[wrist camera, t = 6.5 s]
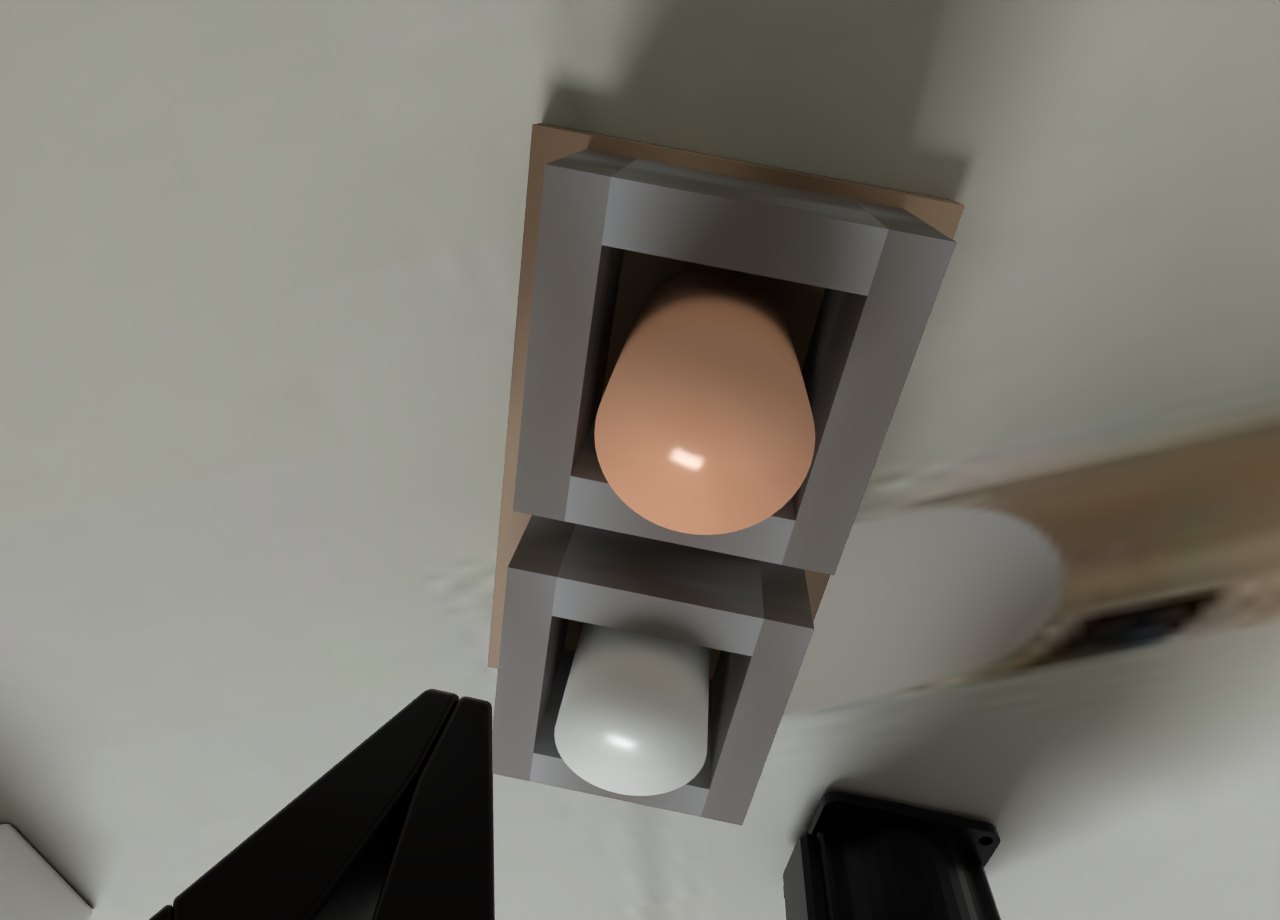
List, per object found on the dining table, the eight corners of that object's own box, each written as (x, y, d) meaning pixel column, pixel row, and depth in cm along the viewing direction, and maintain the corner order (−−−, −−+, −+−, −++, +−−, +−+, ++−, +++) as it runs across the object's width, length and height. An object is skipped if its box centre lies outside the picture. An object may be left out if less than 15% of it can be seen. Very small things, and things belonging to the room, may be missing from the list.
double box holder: (954, 200, 17) (1036, 238, 12) (773, 707, 25) (784, 841, 20) (540, 123, 17) (474, 132, 12) (494, 650, 25) (444, 769, 20)
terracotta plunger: (810, 286, 16) (843, 361, 11) (768, 437, 17) (782, 552, 13) (643, 254, 16) (610, 315, 11) (618, 407, 18) (582, 512, 13)
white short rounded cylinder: (723, 576, 21) (722, 705, 16) (697, 670, 23) (690, 808, 18) (597, 551, 21) (563, 672, 17) (581, 646, 23) (546, 779, 18)
